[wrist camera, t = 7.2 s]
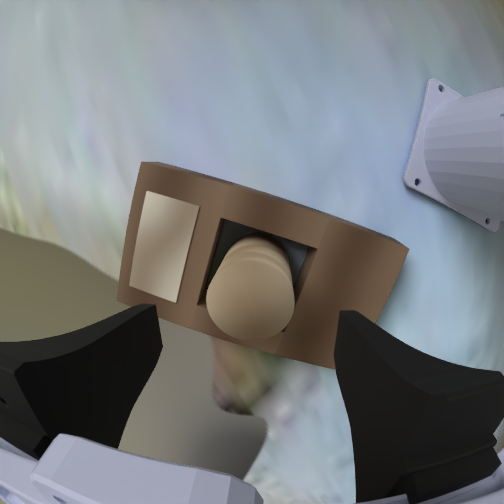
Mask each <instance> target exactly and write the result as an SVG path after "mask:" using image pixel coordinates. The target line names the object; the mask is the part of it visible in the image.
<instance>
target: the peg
mask: <svg viewBox="0 0 504 504" xmlns="http://www.w3.org/2000/svg"><path fill="white" fill-rule="evenodd" d="M206 303H207V309H208V312H209V315H210V317H211V319H212V320H213V322H214V323H215V324H216V325H217V327H218V328H219V329H221V330H222V331H223V332H224V333H226V334H228V335H229V336H231V337H234V338H236V339H240V340H245V341H259V340H264V339H267V338H270V337H272V336H274V335H276V334H278V333H279V332H280V331H282V330H283V329H284V328H285V327H286V325H287V324H288V323H289V321H290V319H291V317H292V315H293V312H294V305H295V300H294V292H293V285H292V278H291V270H290V263H289V257H288V253H287V251H286V249H285V247H284V245H283V244H282V243H281V242H280V241H279V240H278V239H277V238H276V237H274V236H272V235H270V234H267V233H264V232H251V233H247V234H245V235H242V236H241V237H239V238H238V239H236V240H235V241H234V242H233V244H232V245H231V247H230V248H229V250H228V252H227V254H226V256H225V257H224V259H223V261H222V263H221V265H220V267H219V268H218V270H217V272H216V274H215V276H214V277H213V279H212V281H211V283H210V285H209V287H208V290H207V296H206Z"/></svg>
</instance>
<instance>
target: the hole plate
mask: <svg viewBox="0 0 504 504" xmlns="http://www.w3.org/2000/svg"><path fill="white" fill-rule="evenodd" d="M225 219H227V220H230V221H234V222H237V223H240V224H243V225H246V226H249V227H253V228H256V229H259V230H262V231H265V232H268V233H271V234H274V235H278V236H281V237H284V238H287V239H290V240H293V241H296V242H299V243H302V244H305V245H308V246H309V249H308V252H307V254H306V257H305V260H304V262H303V265H302V268H301V270H300V273H299V276H298V278H297V281H296V283H295V286H294V289H293V292H294V300H295V305H294V312H293V315H292V317H291V319H290V321H289V323H288V324H287V325H286V327H285V328H284V329H283V330H282V331H280V332H279V333H278V334H276V335H274V336H272V337H270V338H267V339H264V340H259V341H245V340H240V339H236V338H234V337H231V336H229V335H228V334H226V333H224V332H223V331H222V330H221V329H219V328H218V327H217V325H216V324H215V323H214V322H213V320H212V319H211V317H210V315H209V312H208V309H207V303H206V296H207V289H206V286H207V282H208V279H209V275H210V271H211V268H212V264H213V260H214V257H215V253H216V250H217V246H218V243H219V239H220V236H221V232H222V229H223V225H224V222H225ZM408 251H409V248H407V247H406V246H404V245H403V244H401V243H400V242H398V241H397V240H395V239H394V238H391V237H389V236H386V235H383V234H381V233H378V232H376V231H373V230H371V229H368V228H365V227H363V226H360V225H357V224H355V223H352V222H349V221H346V220H344V219H341V218H338V217H335V216H333V215H330V214H327V213H324V212H321V211H319V210H316V209H313V208H310V207H307V206H304V205H301V204H298V203H295V202H292V201H289V200H286V199H283V198H280V197H277V196H274V195H271V194H268V193H265V192H261V191H258V190H255V189H252V188H249V187H245V186H242V185H239V184H235V183H232V182H229V181H225V180H222V179H219V178H215V177H212V176H208V175H205V174H201V173H197V172H194V171H190V170H187V169H183V168H179V167H175V166H172V165H168V164H164V163H160V162H141V165H140V169H139V173H138V178H137V182H136V186H135V191H134V195H133V200H132V205H131V210H130V215H129V220H128V226H127V231H126V237H125V243H124V249H123V256H122V263H121V270H120V277H119V286H118V294H117V301H118V302H121V303H124V304H126V305H128V306H131V307H133V306H136V305H139V304H142V303H144V304H156V308H157V315H158V317H159V318H162V319H165V320H167V321H170V322H173V323H176V324H179V325H181V326H184V327H187V328H190V329H193V330H196V331H199V332H202V333H205V334H208V335H211V336H214V337H217V338H220V339H223V340H227V341H230V342H233V343H236V344H240V345H243V346H246V347H250V348H253V349H257V350H260V351H264V352H267V353H271V354H275V355H278V356H282V357H286V358H290V359H294V360H298V361H302V362H306V363H310V364H314V365H318V366H323V367H327V368H331V369H335V362H334V355H333V354H334V348H335V341H336V334H337V327H338V320H339V313H340V310H356V311H357V312H359V313H361V314H362V315H363V316H365V317H366V318H368V319H369V320H370V321H372V322H373V323H376V321H377V319H378V317H379V315H380V313H381V311H382V309H383V307H384V305H385V303H386V301H387V299H388V297H389V295H390V293H391V290H392V288H393V286H394V284H395V282H396V279H397V277H398V275H399V273H400V270H401V268H402V266H403V263H404V261H405V258H406V256H407V254H408Z"/></svg>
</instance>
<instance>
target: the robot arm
mask: <svg viewBox="0 0 504 504" xmlns="http://www.w3.org/2000/svg"><path fill="white" fill-rule="evenodd" d="M438 86H439V87H440V88H441V89H442V92H441V91H439V89H438ZM416 179H418V181H419V184H418V185H417V186H416V185H415V180H416ZM403 182H404V184H405V185H406V186H408V187H410V188H412V189H414V190H416V191H418V192H420V193H422V194H424V195H426V196H428V197H430V198H432V199H434V200H436V201H438V202H440V203H442V204H444V205H446V206H447V207H449V208H451V209H453V210H455V211H457V212H459V213H460V214H462V215H464V216H466V217H468V218H469V219H471V220H473V221H474V222H476V223H478V224H480V225H481V226H483V227H485V228H486V229H488V230H490V231H492V232H496V231H497V230H498V228H499V225H500V222H501V221H502V222H504V87H500V88H497V89H493V90H489V91H485V92H482V93H478V94H474V95H471V96H468V97H463V96H462V95H460V94H459V93H457V92H456V91H454V90H453V89H451V88H450V87H448V86H446V85H445V84H443V83H442V82H440V81H438V80H437V79H434V78H433V79H430V80H428V82H427V87H426V91H425V96H424V101H423V105H422V109H421V114H420V118H419V122H418V126H417V130H416V134H415V137H414V141H413V145H412V148H411V152H410V155H409V159H408V162H407V166H406V169H405V172H404V175H403ZM486 218H487V222H486V223H485V221H486ZM162 348H163V345H162V339H161V333H160V327H159V321H158V315H157V308H156V304H144V303H142V304H139V305H136V306H133V307H131V308H128V309H126V310H124V311H122V312H119V313H117V314H115V315H113V316H111V317H108V318H106V319H104V320H102V321H99V322H97V323H95V324H92V325H89V326H87V327H84V328H82V329H79V330H76V331H73V332H69V333H66V334H63V335H59V336H54V337H50V338H44V339H39V340H31V341H21V342H0V499H2V500H3V501H4V502H5V503H6V504H263V499H262V497H261V496H260V494H259V493H258V491H257V490H256V488H255V487H253V486H252V485H251V484H249V483H246V482H244V481H242V480H240V479H238V478H236V477H234V476H232V475H230V474H226V473H222V472H218V471H214V470H210V469H206V468H202V467H197V466H190V465H184V464H178V463H173V462H168V461H163V460H159V459H154V458H150V457H145V456H141V455H137V454H134V453H130V452H126V451H122V450H119V449H118V446H119V443H120V440H121V437H122V434H123V431H124V428H125V426H126V423H127V420H128V418H129V415H130V413H131V410H132V408H133V406H134V404H135V402H136V401H137V399H138V397H139V395H140V394H141V392H142V390H143V388H144V386H145V385H146V383H147V381H148V379H149V378H150V376H151V374H152V372H153V370H154V368H155V366H156V364H157V362H158V359H159V356H160V353H161V350H162ZM333 355H334V362H335V369H336V375H337V379H338V383H339V386H340V390H341V393H342V397H343V400H344V404H345V407H346V411H347V414H348V418H349V422H350V427H351V435H352V443H353V452H354V463H355V479H356V503H355V504H504V448H503V449H501V450H500V451H499V452H498V453H496V452H495V450H494V448H493V446H495V445H496V443H497V440H496V438H495V436H494V435H493V433H494V432H495V430H496V429H497V427H498V426H499V424H500V423H501V421H502V420H503V418H504V376H503V374H502V373H501V372H499V371H491V370H483V369H475V368H470V367H466V366H462V365H457V364H454V363H450V362H447V361H444V360H441V359H438V358H436V357H433V356H430V355H428V354H426V353H423V352H421V351H419V350H417V349H415V348H413V347H411V346H409V345H407V344H405V343H404V342H402V341H400V340H399V339H397V338H395V337H394V336H392V335H391V334H389V333H388V332H386V331H385V330H383V329H382V328H380V327H379V326H377V325H376V324H375V323H373V322H372V321H370V320H369V319H368V318H366V317H365V316H363V315H362V314H361V313H359V312H357V311H356V310H340V313H339V320H338V327H337V334H336V341H335V348H334V354H333Z"/></svg>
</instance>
